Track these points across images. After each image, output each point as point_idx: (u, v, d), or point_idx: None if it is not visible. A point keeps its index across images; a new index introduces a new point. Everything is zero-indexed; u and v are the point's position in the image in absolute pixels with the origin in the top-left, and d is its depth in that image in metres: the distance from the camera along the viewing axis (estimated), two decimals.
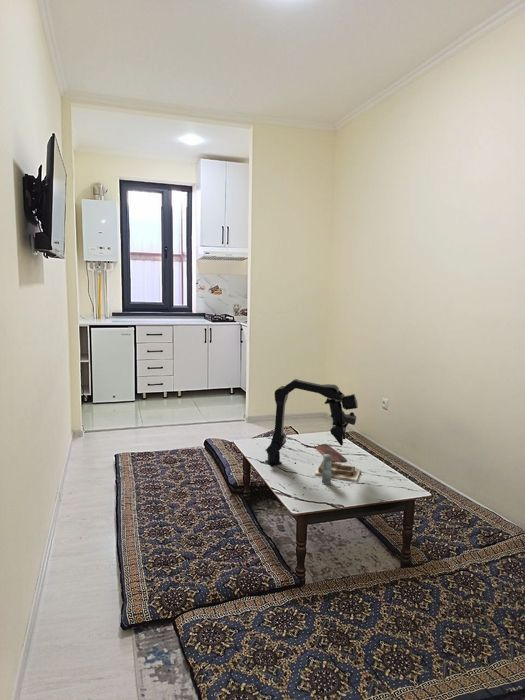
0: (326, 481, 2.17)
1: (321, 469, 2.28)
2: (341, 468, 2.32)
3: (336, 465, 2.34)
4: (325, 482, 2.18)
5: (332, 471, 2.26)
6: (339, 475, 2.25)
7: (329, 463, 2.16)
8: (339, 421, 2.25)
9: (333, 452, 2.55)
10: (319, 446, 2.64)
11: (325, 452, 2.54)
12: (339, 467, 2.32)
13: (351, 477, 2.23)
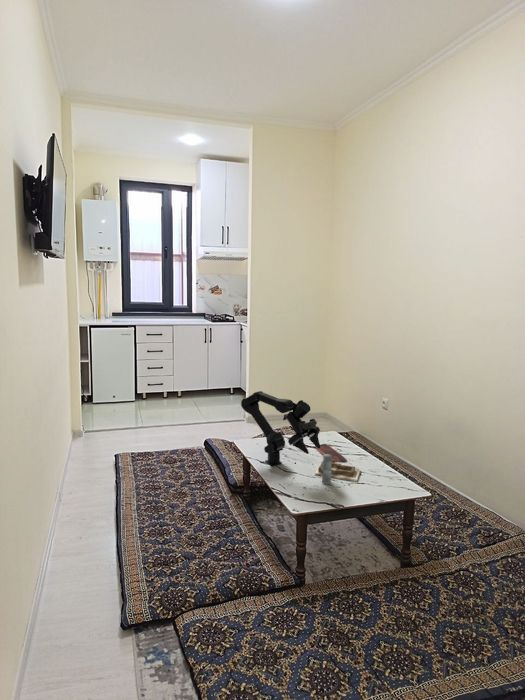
0: (326, 481, 2.17)
1: (321, 469, 2.28)
2: (341, 468, 2.32)
3: (336, 465, 2.34)
4: (325, 482, 2.18)
5: (332, 471, 2.26)
6: (339, 475, 2.25)
7: (329, 463, 2.16)
8: (298, 431, 2.24)
9: (332, 452, 2.55)
10: None
11: (325, 452, 2.54)
12: (339, 467, 2.32)
13: (351, 477, 2.23)
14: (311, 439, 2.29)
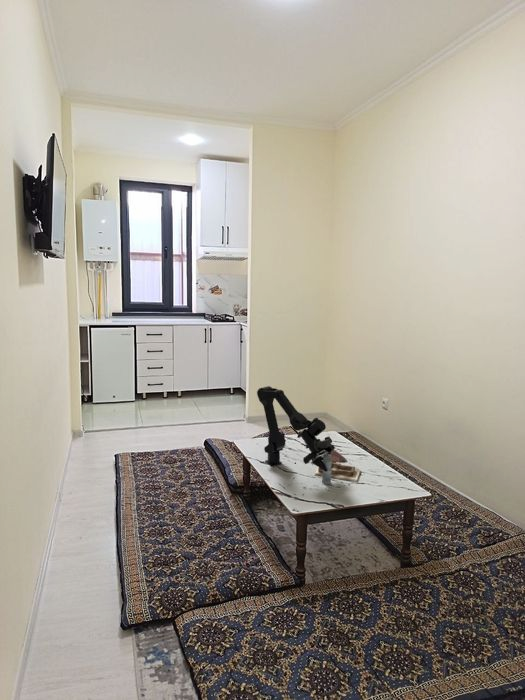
0: (326, 481, 2.17)
1: (321, 469, 2.28)
2: (341, 468, 2.32)
3: (336, 465, 2.34)
4: (325, 482, 2.18)
5: (332, 471, 2.26)
6: (339, 475, 2.25)
7: (329, 463, 2.16)
8: (313, 450, 2.19)
9: (332, 452, 2.55)
10: None
11: None
12: (339, 467, 2.32)
13: (351, 477, 2.23)
14: None
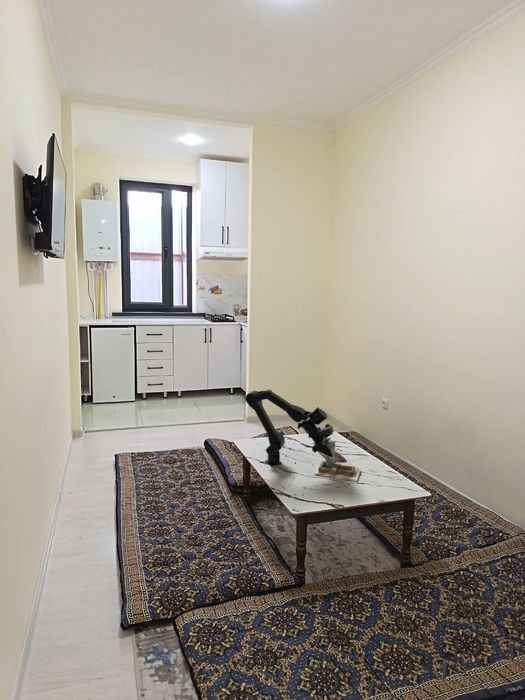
0: (331, 466, 2.29)
1: (321, 469, 2.28)
2: (341, 468, 2.32)
3: (336, 465, 2.34)
4: (330, 467, 2.29)
5: (332, 471, 2.26)
6: (339, 475, 2.25)
7: (334, 448, 2.29)
8: (318, 438, 2.28)
9: None
10: None
11: None
12: (339, 467, 2.32)
13: (351, 477, 2.23)
14: None
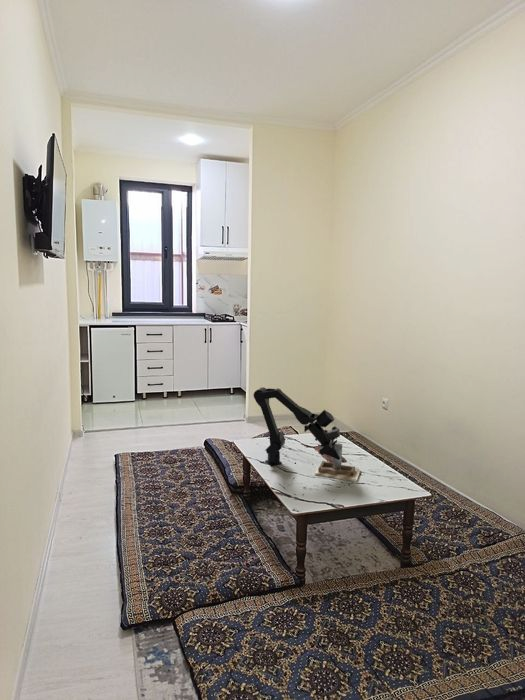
0: None
1: (321, 469, 2.28)
2: (341, 468, 2.32)
3: None
4: None
5: (332, 471, 2.26)
6: (339, 475, 2.25)
7: (341, 451, 2.28)
8: (325, 441, 2.27)
9: None
10: (318, 446, 2.64)
11: None
12: None
13: (351, 477, 2.23)
14: None
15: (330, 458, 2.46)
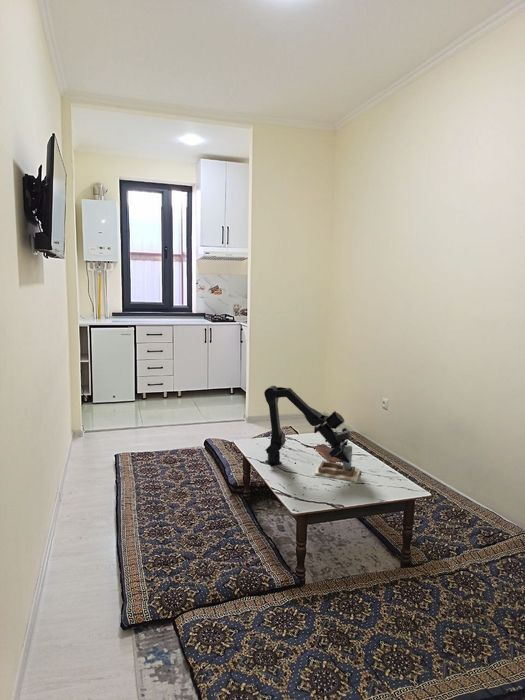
0: None
1: (321, 469, 2.28)
2: (341, 468, 2.32)
3: (336, 465, 2.34)
4: None
5: (332, 471, 2.26)
6: (339, 475, 2.25)
7: (351, 453, 2.26)
8: (335, 442, 2.26)
9: None
10: (317, 446, 2.64)
11: (324, 452, 2.54)
12: (339, 467, 2.32)
13: (351, 477, 2.23)
14: None
15: (330, 458, 2.46)
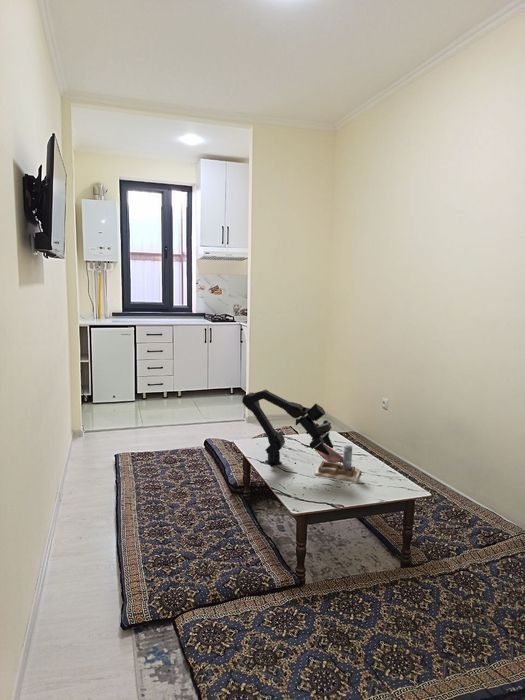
0: None
1: (321, 469, 2.28)
2: (341, 468, 2.32)
3: (336, 465, 2.34)
4: None
5: (332, 471, 2.26)
6: (339, 475, 2.25)
7: (351, 453, 2.26)
8: (315, 434, 2.29)
9: (331, 452, 2.54)
10: None
11: None
12: (339, 467, 2.32)
13: (351, 477, 2.23)
14: (322, 440, 2.36)
15: (330, 458, 2.46)
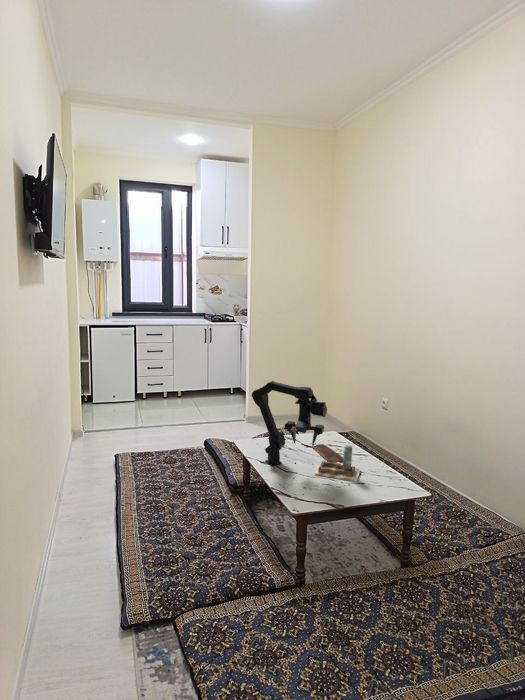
0: None
1: (321, 469, 2.28)
2: (341, 468, 2.32)
3: (336, 465, 2.34)
4: None
5: (332, 471, 2.26)
6: (339, 475, 2.25)
7: (351, 453, 2.26)
8: None
9: (331, 452, 2.54)
10: (316, 446, 2.63)
11: (323, 452, 2.53)
12: (339, 467, 2.32)
13: (351, 477, 2.23)
14: None
15: (330, 458, 2.46)
